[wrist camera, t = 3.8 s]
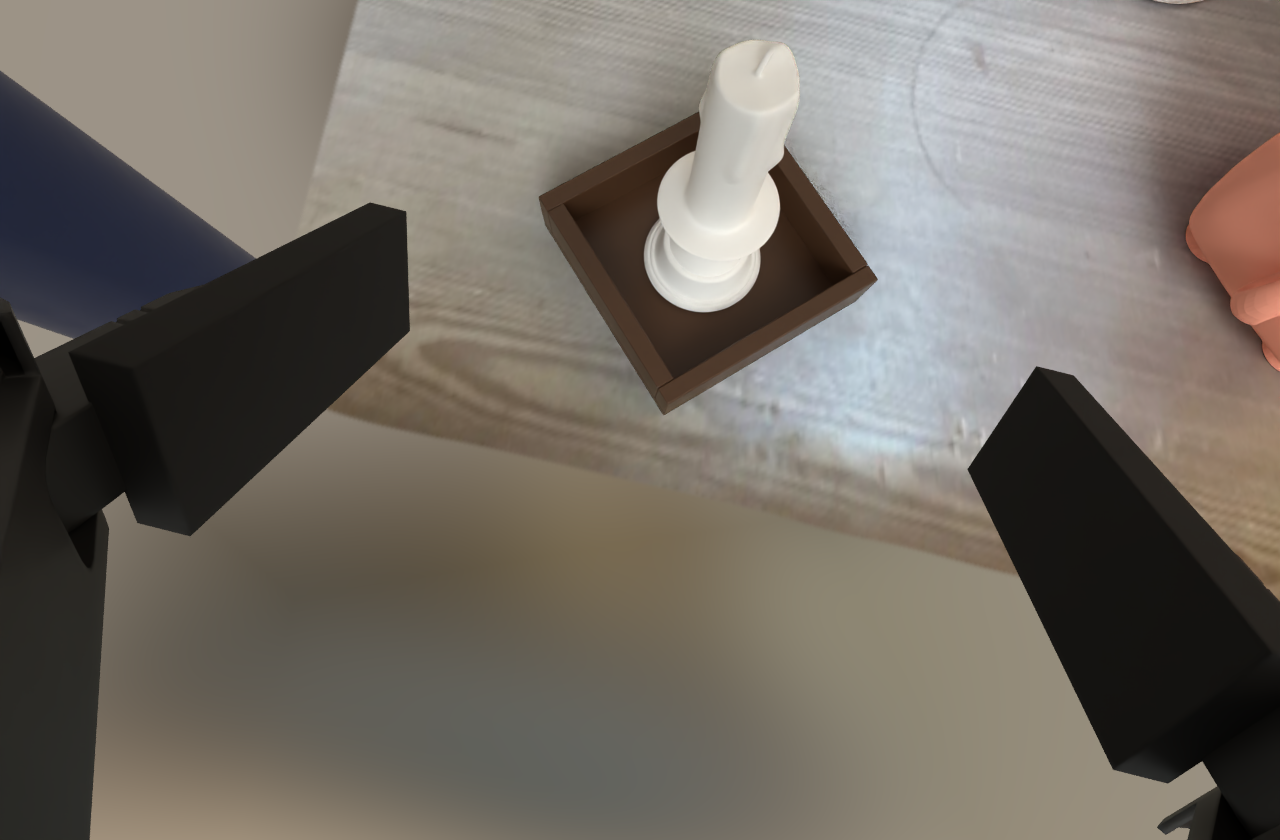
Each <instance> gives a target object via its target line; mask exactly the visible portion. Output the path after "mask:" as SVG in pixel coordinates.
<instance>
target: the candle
mask: <svg viewBox="0 0 1280 840" xmlns="http://www.w3.org/2000/svg"><path fill="white" fill-rule="evenodd" d="M798 104H799V73H798V69H797V66H796V62H795V58H794V56H793V53H792V51H791V50H790V48H789V47H788V46H787V45H785V44H784V43H781V42H768V41H763V40H747V41H743V42H740V43H737V44H735V45H733V46H731V47H729V48H726V49H724V50H723V51H721V52H720V53H719V54H718V56H717V57H716V59H715V61H714V63H713V65H712V68H711V71H710V75H709V79H708V84H707V88H706V91H705V93H704V95H703V96H702V98H701V101H700V103H699V114H700V120H701V125H700V130H699V135H698V140H697V145H696V150H695V151H694V152H691V153H689V154H687V155H685V156H683V157H682V158H680V159H679V160H678V161H676V162H675V163H674V164H673V165H672V166H671V167H670V168H669V170H668V171H667V172H666V174H665V176H664V177H663V179H662V182H661V184H660V187H659V191H658V198H657V207H658V213H659V217H660V218H659V219H658V221H657V222H656V223H655V224H654V225H653V227H652V228H651V230H650V232H649V234H648V236H647V239H646V243H645V247H644V264H645V269H646V272H647V275H648V277H649V279H650V281H651V283H652V285H653V286H654V288H655V289H656V290H657V291H658V292H659V293H660V294H661V295H662V296H663V297H664V298H665V299H666V300H668V301H669V302H670V303H672V304H674V305H676V306H678V307H680V308H683V309H686V310H689V311H694V312H714V311H719V310H722V309H725V308H728V307H730V306H732V305H734V304H735V303H737V302H738V301H740V300H741V299H742V298H743V297H744V296H745V295H746V294H747V293H748V292H749V291H750V289H751V288H752V287H753V285H754V283H755V281H756V279H757V276H758V273H759V269H760V249H759V248H760V247H761V246H763V245H764V244H765V243H766V242H767V240H768V239H769V238H770V236H771V235H772V233H773V232H774V230H775V227H776V225H777V222H778V218H779V212H780V201H779V195H778V191H777V188H776V185H775V183H774V181H773V179H772V178H771V176H770V175H769V173H768V171H769V170H770V169H772V168H773V167H774V166H775V165H777V164H778V163H779V162H780V161H781V160H782V157H783V155H784V142H785V139H786V137H787V134H788V132H789V129H790V127H791V125H792V122H793V120H794V117H795V114H796V111H797V108H798Z"/></svg>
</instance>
